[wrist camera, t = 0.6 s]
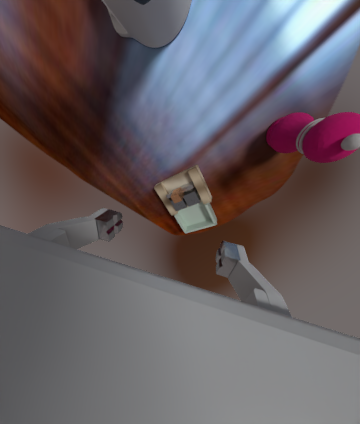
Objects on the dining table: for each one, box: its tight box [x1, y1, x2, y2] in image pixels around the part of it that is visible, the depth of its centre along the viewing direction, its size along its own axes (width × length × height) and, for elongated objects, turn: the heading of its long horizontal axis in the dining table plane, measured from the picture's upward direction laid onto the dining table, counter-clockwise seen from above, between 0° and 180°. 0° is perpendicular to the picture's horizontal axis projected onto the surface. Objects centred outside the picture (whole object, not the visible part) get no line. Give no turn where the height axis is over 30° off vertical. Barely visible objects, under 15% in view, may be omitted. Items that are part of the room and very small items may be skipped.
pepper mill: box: [266, 112, 360, 163], centre depth 23 cm, size 7×7×20 cm
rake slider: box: [166, 181, 194, 204], centre depth 39 cm, size 2×9×7 cm, turn 118°
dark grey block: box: [184, 188, 201, 207], centre depth 42 cm, size 4×4×3 cm
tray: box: [174, 202, 217, 233], centre depth 46 cm, size 8×12×4 cm
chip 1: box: [170, 197, 187, 211], centre depth 44 cm, size 4×4×3 cm
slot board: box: [154, 164, 212, 215], centre depth 43 cm, size 12×15×3 cm
